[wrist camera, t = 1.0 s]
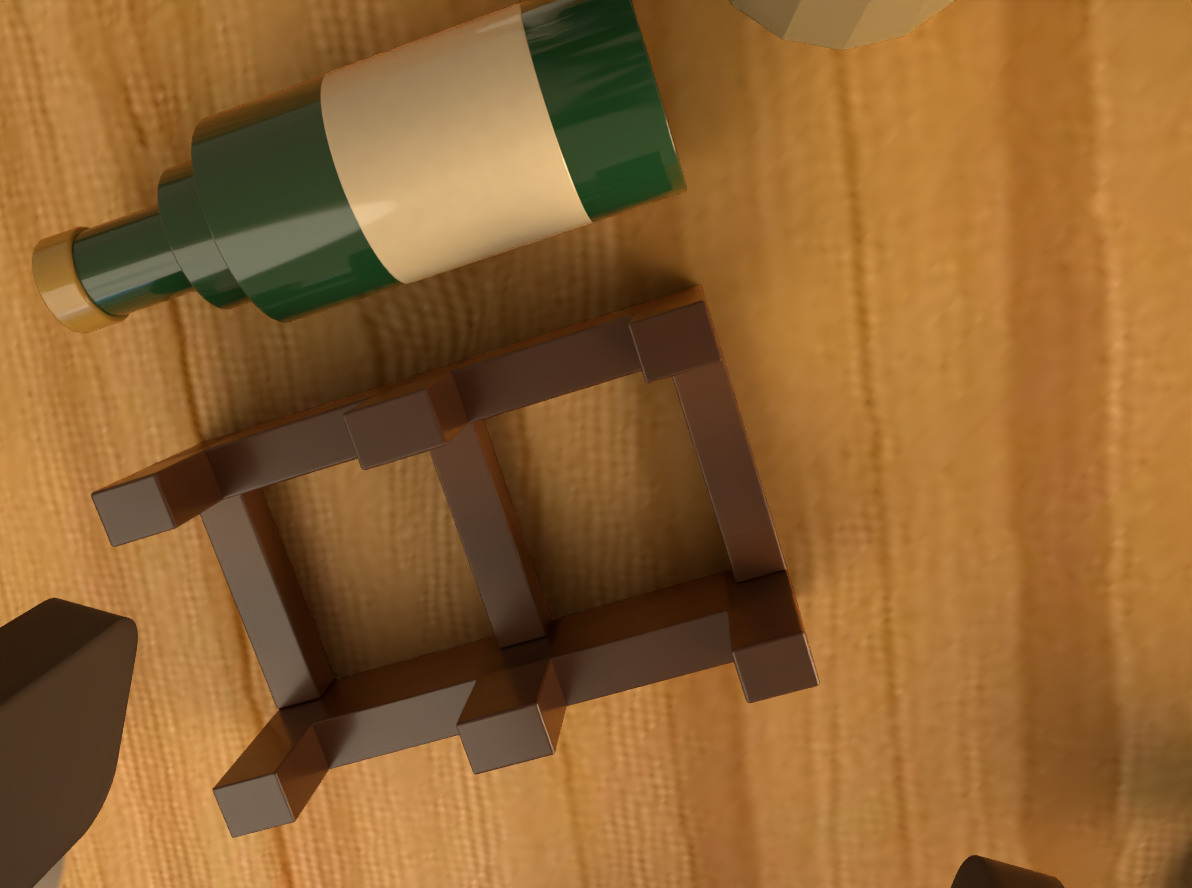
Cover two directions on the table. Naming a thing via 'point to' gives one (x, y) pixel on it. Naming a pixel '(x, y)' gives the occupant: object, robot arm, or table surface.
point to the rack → (477, 562)
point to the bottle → (388, 172)
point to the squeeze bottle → (840, 19)
